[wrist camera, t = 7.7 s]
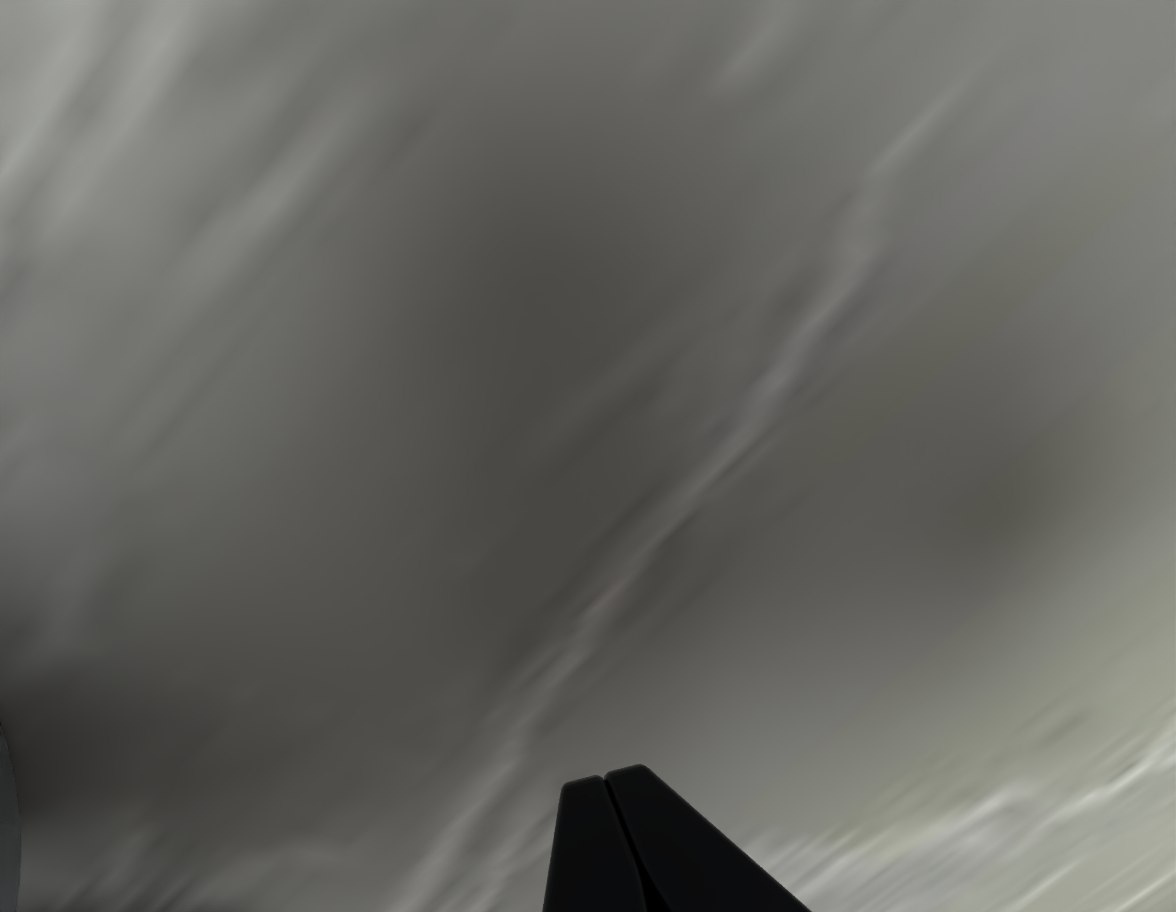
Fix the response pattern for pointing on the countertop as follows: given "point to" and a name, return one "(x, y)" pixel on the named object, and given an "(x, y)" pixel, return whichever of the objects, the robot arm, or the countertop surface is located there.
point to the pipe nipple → (8, 832)
